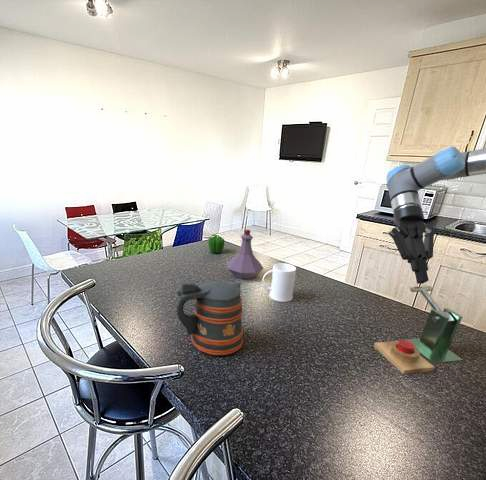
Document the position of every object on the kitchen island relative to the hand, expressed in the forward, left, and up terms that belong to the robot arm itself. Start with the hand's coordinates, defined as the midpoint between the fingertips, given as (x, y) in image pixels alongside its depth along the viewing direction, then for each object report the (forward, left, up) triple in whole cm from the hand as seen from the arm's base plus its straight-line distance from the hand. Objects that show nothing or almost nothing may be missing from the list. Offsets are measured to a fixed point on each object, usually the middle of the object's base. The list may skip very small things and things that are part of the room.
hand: (422, 281), depth 82 cm
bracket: (0, +9, -17) cm, 20 cm away
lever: (0, +5, -5) cm, 7 cm away
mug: (+31, -28, -17) cm, 45 cm away
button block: (+11, +11, -17) cm, 23 cm away
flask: (+38, -49, -17) cm, 64 cm away
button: (+11, +11, -14) cm, 21 cm away
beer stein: (+60, -3, -17) cm, 63 cm away
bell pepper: (+45, -80, -17) cm, 93 cm away
